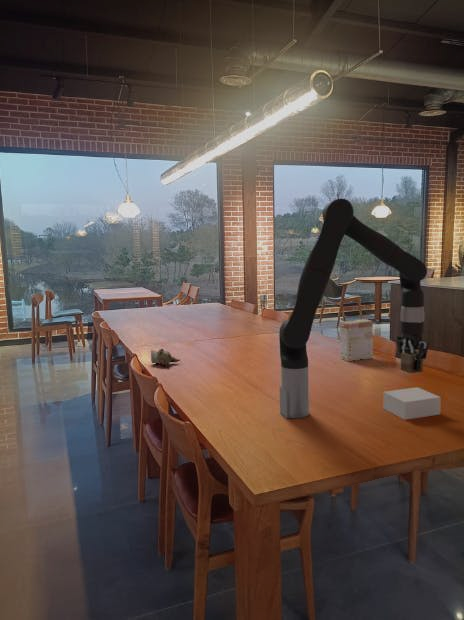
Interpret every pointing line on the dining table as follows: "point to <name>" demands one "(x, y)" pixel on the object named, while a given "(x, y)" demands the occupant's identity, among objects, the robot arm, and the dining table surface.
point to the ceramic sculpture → (162, 357)
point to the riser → (411, 403)
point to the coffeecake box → (356, 339)
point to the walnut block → (409, 362)
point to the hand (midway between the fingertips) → (411, 368)
